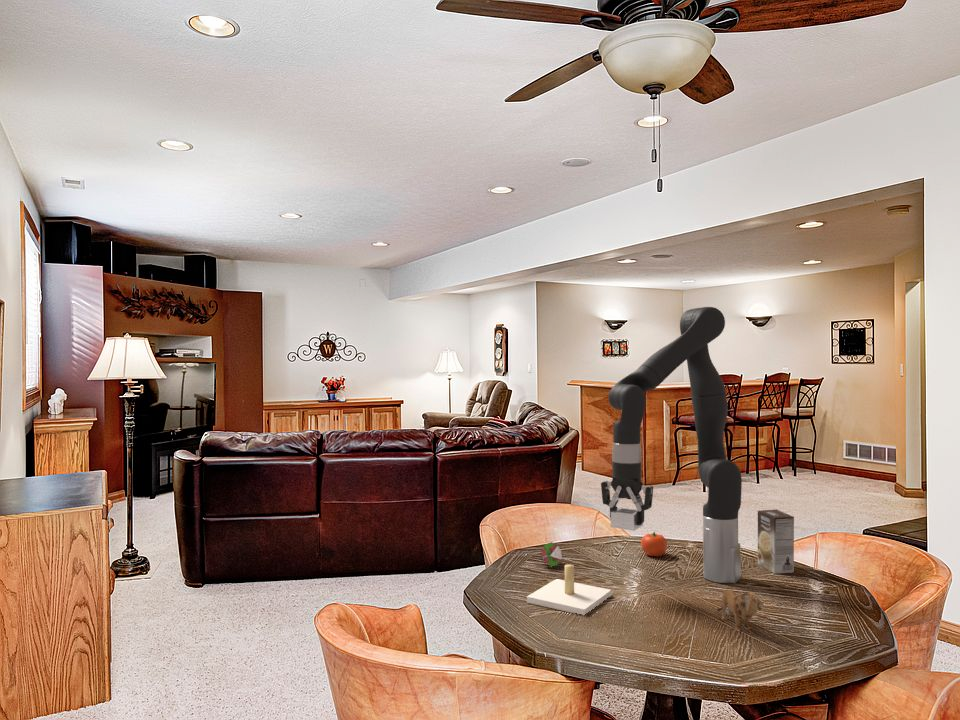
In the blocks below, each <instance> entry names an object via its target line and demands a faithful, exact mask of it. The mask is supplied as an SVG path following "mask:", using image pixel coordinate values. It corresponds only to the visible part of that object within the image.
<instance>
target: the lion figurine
mask: <svg viewBox="0 0 960 720" xmlns="http://www.w3.org/2000/svg"><path fill="white" fill-rule="evenodd" d="M722 594H723V595H722V598H721V599H722V600H721V603H722V606H721V607H718V608H716V610H717V611H718V612H721V611H722V612H721V615H722V616H721V620H722V621H723V620H724V621H727V620H728V619H727V616H733V615H734V620H735V622H734V623H735V631H736V630H741V631H742V627H741V619H743V628H744V629H745V628H747V629H746V630H750V629H751V626H749V625H748V624H749V620H750V619H752V618H753V617H754V616H755V615H757V614H758V612H761V611H762V609H763V608H764V605H765V603H764V602H763V601H761V600H760V599H759V598H758V597H757V594H756V593H755V592H750V591H749V592H745V593H741V594H736V592H735V591H733V590H731V589H727V590H725V591H724V592H723V593H722ZM726 612H727V613H726ZM726 614H727V616H726ZM749 628H750V629H749Z"/></svg>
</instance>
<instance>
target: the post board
mask: <svg viewBox="0 0 960 720" xmlns="http://www.w3.org/2000/svg"><path fill="white" fill-rule="evenodd" d="M608 597H609V598H610V597H612V589H609V588H604V587H599V586H594V585H590V584H585V583H580V582H579V583H578V582H575V565H574V564H571V563H569V564H565V565H564V579H558V578H556V579H554V580H552V581H550V582H549V583H546V584H545V585H544V586H542V587H540V588H538V589H537V590H535V591H534V592H532V593H530V594H529V595H527V596H526V603H528V604H532V605H536V606H541V607H544V608H550V609H554V610H558V611H563V612H567V613H570V614H575V613H577V614H576V615H579V614H582V615H581V616H584V615H585V614H586V613H588V612H589V611H590V612H592V611H593V610H595V607H596V606H597V607H598V606H600V605H601V604H602V603H603V601H604V600H605V601H606V600H608V599H609V598H608ZM607 598H608V599H607ZM605 601H604V602H605ZM600 603H601V604H600ZM599 604H600V605H599ZM597 607H596V608H597ZM592 609H593V610H592ZM591 610H592V611H591ZM590 612H589V613H590ZM589 613H588V614H589ZM586 615H587V614H586ZM586 615H585V616H586Z"/></svg>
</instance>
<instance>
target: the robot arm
mask: <svg viewBox="0 0 960 720" xmlns="http://www.w3.org/2000/svg"><path fill="white" fill-rule="evenodd" d="M725 327H726V319H725V316H724V314H723V312H722V311H721V310H719V309H718V308H716V307H713V306H703V307H697V308H690V309H687V310H686V311H684V312H683V314H682V315H681V317H680V320H679V331H680V336H678V337H677V338H675V340H673V341H671V342H670V343H668V344H667V345H665V346H663V347H662V348H660V349H659V350H657V351H656V352H654V353H653V354H652V355H650V356H649V357H648V358H647V359H646V360H645V361H644V362H643V363H642V364H640V366H638V368H637V369H636V370H634V371H633V372H631V373H629V374H628V375H626V376H625V377H623V378H622V379H620V380H619V381H618V382H616V383H615V384H614V385H613V386H612V387H611V388H610V390H609V393H608V396H607V397H608V398H607V399H608V403H609V405H610V406H611V407H612V408H613V409H615V410H617V411H621V414H620V419H618V420H616V421H615V422H614V423H613V426H612V427H613V430H612V431H613V433H612V434H613V438H612V439H613V440H612V442H613V443H612V452H611V459H612V460H611V462H612V463H611V464H612V465H611V466H612V467H611V469H612V470H611V471H612V472H611V473H612V475H611V476H612V480H611V481H608V480H604V481H602V482H601V483H600V487H601V497H602V498H601V499H602V504H603V505H605V506H608V507H609V519H610V520H611V512H612V511H614V510H616V509H618V506H617V505H618V504H619V501H620V500H621V499H626V500H631V501H632V503H633V504H634V507H636V510H638V511H637V525H639V526H640V525H642V523H643V524H644V522H645V511H647V510H650V509H651V508H652V506H653V495H654V486H653V485H649V486H648V485H644V483H642V448H641V447H642V446H641V426H642V422H643V419H644V415H645V410H646V403H647V399H646V394H645V392H648V391H650V392H651V391H653V390H655V389H656V388H657V387H659V386H660V385H661V384H662V383H663V382H664V380H666V379H667V378H668V377H669V376H670V375H671V374H672V373H673V372H674V371H675V370H676V369H677V368H678V367H679V366H681V365H682V364H683V363H684V362H686V364H687V370H688V371H687V372H688V377H689V385H690V396H691V405H692V411H693V416H694V417H693V418H694V426H695V432H696V437H697V439H696V440H697V456H698V457H697V466H698V467H697V470H698V477H699V479H700V481H701V483H702V485H704V486H705V487H706V488H708V490H707V493H708V494H707V495H708V497H707V502H706V503H704V504H703V506H702V553H703V554H702V555H703V556H702V559H703V561H702V564H703V565H702V566H703V567H702V570H703V575H702V576H703V577H704V579H705V580H708V581H711V582H714V583H722V584H723V583H724V584H736V583H737V582H738V581H739V580H740V579H741V577H742V575H741V569H742V568H741V543H740V542H739V511H740V508H741V506H742V505H741V504H742V487H743V486H742V473H741V469H740V467H738V465H737V464H736V463H735V462H733V461H731V460H729V459H727V457H726V456H727V455H726V451H725V450H726V449H725V445H724V434H725V433H724V431H725V429H726V428H725V426H726V423H727V420H728V419H727V418H728V412H729V411H728V408H729V407H728V399H727V391H726V386H725V383H724V380H723V378H722V377H721V375H720V374H719V372H718V370H717V368H716V367H715V365H714V362H712V359H711V356H710V352H709V344H710V343H711V342H713V341H714V340H716V339H717V338H718V337H719V336H721V334H722V333H723V332H724V330H725ZM611 488H612V490H613V491H614V494H613V495H612V497H611V494H610V491H611V490H610V489H611ZM642 491H643V494H644V502H643V498H642V496H641V494H640V493H641V492H642Z"/></svg>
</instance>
